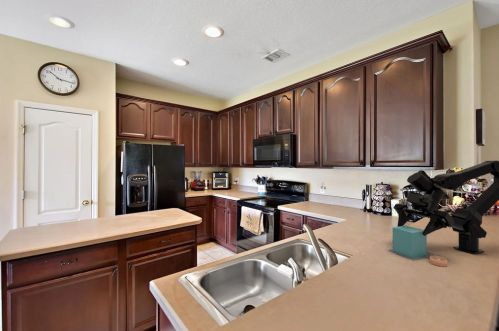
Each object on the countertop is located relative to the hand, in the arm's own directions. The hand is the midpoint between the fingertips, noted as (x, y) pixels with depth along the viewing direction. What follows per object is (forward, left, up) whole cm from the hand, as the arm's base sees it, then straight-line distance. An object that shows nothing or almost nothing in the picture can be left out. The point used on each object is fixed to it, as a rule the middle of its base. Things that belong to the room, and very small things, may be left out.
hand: (410, 231), depth 84 cm
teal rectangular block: (+1, 0, -8) cm, 8 cm away
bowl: (+1, +10, -9) cm, 13 cm away
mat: (0, 0, -8) cm, 8 cm away
